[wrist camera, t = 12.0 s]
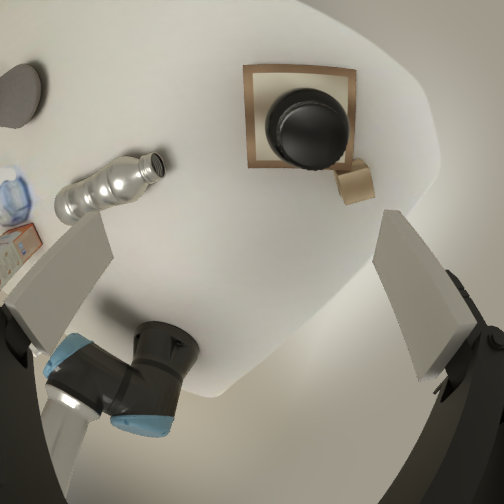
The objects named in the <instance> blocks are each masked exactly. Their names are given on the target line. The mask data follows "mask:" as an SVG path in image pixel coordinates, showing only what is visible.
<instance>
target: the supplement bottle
mask: <svg viewBox="0 0 504 504" xmlns="http://www.w3.org/2000/svg"><path fill="white" fill-rule="evenodd" d="M265 134H266V139H267V141H268V144H269V146H270V148H271V149H272V151H273V152H274V153H275V154H276V156H277V157H279V158H280V159H281V160H282V161H284V162H285V163H287V164H289V165H291V166H293V167H296V168H301V169H307V170H314V171H317V170H323V169H324V168H329V167H330V166H331V165H334V164H335V163H336V162H337V161H339V160H340V157H342V156H343V154H344V152H345V150H346V146H347V144H348V141H349V137H350V124H349V119H348V116H347V114H346V112H345V110H344V108H343V107H342V105H341V104H340V103H339V102H338V101H337V100H336V99H335V98H334V97H332V96H331V95H329V94H328V93H326V92H323V91H321V90H318V89H314V88H293V89H290V90H287V91H285V92H283V93H281V94H280V95H279V96H278V97H277V98H276V99H275V100H274V101H273V103H272V104H271V106H270V108H269V110H268V112H267V115H266V119H265Z"/></svg>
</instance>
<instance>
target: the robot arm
mask: <svg viewBox="0 0 504 504" xmlns="http://www.w3.org/2000/svg"><path fill="white" fill-rule="evenodd" d="M113 258H114V257H113V254H112V251H111V248H110V245H109V242H108V238H107V235H106V232H105V229H104V225H103V222H102V219H101V215H100V212H99V211H95V212H88V213H86V214H85V215H84V216H83V217H82V218H81V219H80V220H79V221H78V222H77V223H75V224H74V225H73V226H72V227H71V228H70V229H69V230H68V231H67V232H66V233H65V234H64V235H63V236H62V237H61V238H60V239H59V240H58V241H57V242H56V243H55V244H54V245H53V246H52V247H51V248H50V249H49V250H48V251H47V252H46V253H45V254H44V255H43V256H42V257H41V258H40V259H39V260H38V261H37V263H36V264H35V265H34V266H33V267H32V268H31V269H30V270H29V271H28V273H27V274H26V275H25V276H24V277H23V278H22V280H21V281H20V282H19V283H18V284H17V285H16V287H15V288H14V289H13V290H12V292H11V293H10V294H9V295H8V297H7V298H6V299H5V300H4V304H3V306H2V307H0V504H68V503H67V502H66V495H67V491H68V487H69V484H70V480H71V476H72V473H73V470H74V466H75V463H76V460H77V457H78V454H79V451H80V447H81V445H82V442H83V439H84V436H85V433H86V430H87V427H88V424H89V423H90V422H91V421H94V420H97V419H99V418H100V416H101V413H102V412H104V413H106V414H108V415H110V416H111V417H110V420H111V424H112V425H113V426H115V427H117V428H119V429H121V430H124V431H127V432H130V433H133V434H137V435H141V436H147V437H156V438H159V437H164V436H166V435H168V433H169V432H170V429H171V426H172V423H173V421H174V416H175V411H176V407H177V403H178V398H179V395H180V391H181V386H182V382H183V379H184V378H185V376H186V375H187V373H188V372H189V371H190V369H191V368H192V366H193V365H194V364H195V362H196V360H197V356H198V352H199V348H198V345H197V343H196V342H195V340H194V339H193V338H192V337H191V336H190V335H188V334H187V333H186V332H184V331H182V330H181V329H179V328H177V327H174V326H172V325H169V324H166V323H161V322H146V323H143V324H141V325H140V326H139V327H138V329H137V331H136V333H135V336H134V345H133V361H132V364H131V366H130V365H129V364H127V363H125V362H123V361H122V360H120V359H118V358H117V357H115V356H113V355H112V354H110V353H109V352H107V351H106V350H104V349H102V348H101V347H99V346H98V345H96V344H95V343H94V342H93V341H90V340H88V339H87V338H85V337H83V336H82V335H80V334H78V333H71V334H69V335H68V336H67V337H66V338H65V339H64V340H63V341H62V342H61V343H60V345H59V346H58V347H57V348H56V350H55V351H54V349H55V347H56V346H57V344H58V342H59V340H60V339H61V337H62V335H63V333H64V332H65V330H66V328H67V327H68V325H69V323H70V322H71V320H72V319H73V317H74V315H75V314H76V312H77V311H78V309H79V308H80V306H81V304H82V303H83V301H84V300H85V298H86V297H87V295H88V294H89V292H90V291H91V289H92V288H93V286H94V285H95V284H96V282H97V281H98V279H99V278H100V276H101V275H102V274H103V272H104V271H105V269H106V268H107V267H108V265H109V264H110V263H111V261H112V260H113ZM372 262H373V264H374V266H375V268H376V271H377V273H378V275H379V277H380V280H381V282H382V284H383V286H384V289H385V291H386V293H387V296H388V298H389V301H390V303H391V305H392V308H393V310H394V313H395V315H396V318H397V321H398V323H399V326H400V328H401V331H402V333H403V336H404V339H405V342H406V344H407V348H408V351H409V353H410V356H411V359H412V362H413V366H414V369H415V372H416V375H417V378H418V382H421V381H426V380H430V379H435V378H437V377H438V376H439V374H440V373H441V372H442V371H443V370H444V368H445V369H446V372H447V374H448V376H447V377H446V378H445V379H444V381H443V382H442V383H441V384H440V385H439V386H438V387H437V388H436V390H435V391H434V392H433V393H434V394H436V393H437V392H438V391H439V390H440V392H439V394H438V397H437V399H436V402H435V404H434V407H433V409H432V411H431V414H430V416H429V418H428V420H427V422H426V424H425V427H424V429H423V431H422V433H421V435H420V437H419V439H418V441H417V443H416V444H415V446H414V448H413V450H412V452H411V454H410V455H409V457H408V459H407V460H406V462H405V464H404V466H403V467H402V469H401V470H400V472H399V474H398V475H397V477H396V478H395V480H394V481H393V483H392V485H391V486H390V487H389V489H388V490H387V492H386V493H385V494H384V496H383V497H382V499H381V500H380V501H379V503H378V504H504V332H503V331H502V330H500V329H499V328H498V327H494V326H487V324H486V323H485V321H484V319H483V317H482V316H481V314H480V312H479V311H478V309H477V307H476V306H475V304H474V302H473V301H472V299H471V298H469V294H468V293H467V291H466V290H464V287H463V285H462V284H461V282H460V281H459V280H458V278H457V277H456V276H455V275H453V274H452V273H451V272H450V271H449V270H444V268H443V267H442V265H441V264H440V263H439V261H438V260H437V258H436V257H435V256H434V255H433V253H432V252H431V250H430V249H429V247H428V246H427V245H426V243H425V242H424V241H423V240H422V238H421V237H420V236H419V234H417V232H416V231H415V229H414V228H413V227H412V226H411V224H410V223H409V222H408V221H407V220H406V218H405V217H404V216H403V215H402V214H401V212H400V211H395V210H384V213H383V218H382V223H381V228H380V232H379V237H378V241H377V245H376V249H375V254H374V258H373V261H372ZM31 342H32V344H33V345H34V346H35V348H36V349H37V350H38V351H39V352H40V353H43V354H46V355H48V356H51V354H52V353H53V351H54V353H53V354H52V356H51V357H50V360H49V361H48V363H47V364H46V366H45V368H44V371H43V374H44V376H45V377H46V378H47V379H48V380H47V382H46V384H45V388H46V391H47V394H48V400H47V402H46V404H45V407H44V409H43V412H42V414H41V416H40V411H39V405H38V399H37V392H36V384H35V376H34V365H33V353H32V350H31V349H30V348H29V346H30V344H31Z"/></svg>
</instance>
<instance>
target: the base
mask: <svg viewBox="0 0 504 504" xmlns="http://www.w3.org/2000/svg"><path fill="white" fill-rule="evenodd" d="M243 78H244V98H245V118H246V139H247V159H248V168H296V167H293V166H291V165H289V164H287V163H285V162H284V161H282V160H281V159H280V158H279V157H277V156H276V154H275V153H274V152H273V151H272V149H271V148H270V146H269V144H268V141H267V139H266V134H265V119H266V115H267V112H268V110H269V108H270V106H271V104H272V103H273V101H274V100H275V99H276V98H277V97H278V96H279V95H280V94H281V93H283V92H285V91H287V90H290V89H293V88H314V89H318V90H321V91H323V92H326V93H328V94H329V95H331V96H332V97H334V98H335V99H336V100H337V101H338V102H339V103H340V104H341V105H342V107H343V108H344V110H345V112H346V114H347V116H348V119H349V124H350V137H349V141H348V144H347V146H346V150H345V152H344V154H343V156H342V157H340V160H339V161H337V162H336V163H335V164H334V165H331V166H330V167H329V168H324V169H330V170H347V171H352V160H353V148H354V133H355V113H356V70H354V69H346V68H337V67H327V66H314V65H292V64H261V65H243Z"/></svg>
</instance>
